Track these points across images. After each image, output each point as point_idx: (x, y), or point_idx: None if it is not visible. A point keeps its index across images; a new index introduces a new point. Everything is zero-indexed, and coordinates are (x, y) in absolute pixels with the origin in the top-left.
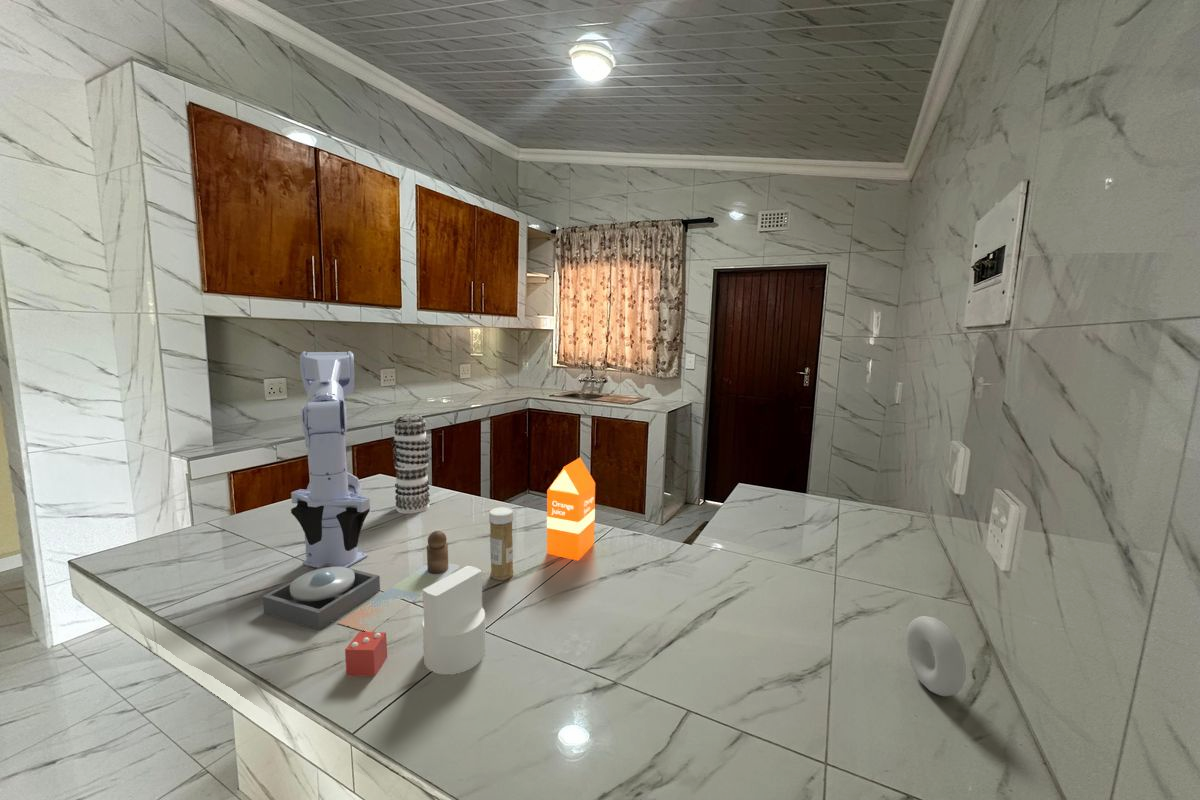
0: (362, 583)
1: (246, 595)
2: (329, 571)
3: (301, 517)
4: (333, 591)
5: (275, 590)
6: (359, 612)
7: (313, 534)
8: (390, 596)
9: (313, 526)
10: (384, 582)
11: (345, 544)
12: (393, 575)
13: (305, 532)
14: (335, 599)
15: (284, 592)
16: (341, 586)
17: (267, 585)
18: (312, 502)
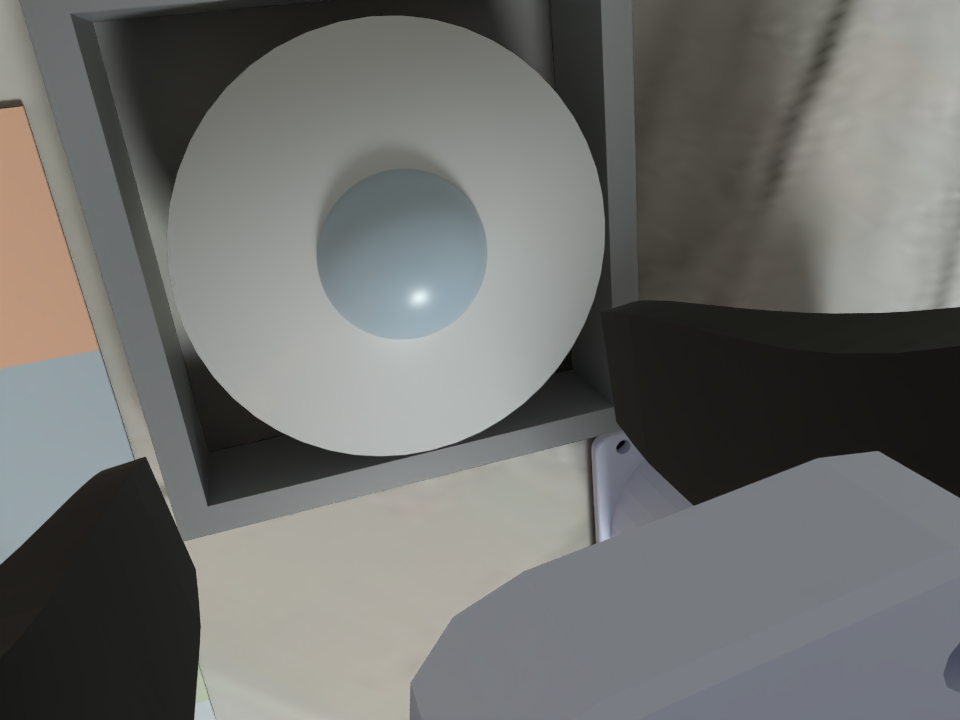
0: (180, 420)
1: (825, 21)
2: (406, 320)
3: (914, 342)
4: (170, 204)
5: (622, 27)
6: (29, 267)
7: (664, 379)
8: (50, 486)
9: (729, 431)
10: (262, 546)
11: (102, 490)
12: (292, 614)
13: (730, 314)
14: (116, 178)
15: (587, 80)
16: (190, 281)
17: (812, 151)
18: (807, 714)
